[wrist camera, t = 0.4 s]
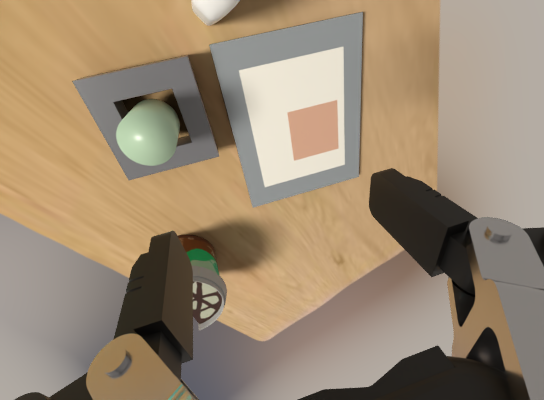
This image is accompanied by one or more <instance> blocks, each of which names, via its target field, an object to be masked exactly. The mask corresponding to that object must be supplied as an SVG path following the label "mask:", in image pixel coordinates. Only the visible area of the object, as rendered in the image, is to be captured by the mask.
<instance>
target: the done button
mask: <svg viewBox="0 0 544 400" xmlns="http://www.w3.org/2000/svg"><path fill="white" fill-rule="evenodd" d="M179 130H180V121H179V118H178V115H177V113H176V112H175V110H174V109H173V108H172V107H171V106H170V105H168V104H167V103H165V102H163V101H160V100H157V99H146V100H143V101H141V102H139V103H137V104H136V105H135V106H134V107H133V109H132V110H131V111H130V112H129V113H128V114H127V115H126V116H125V117H124V118H123V119H122V120H121V122H120V123H119V125H118V127H117V131H116V139H117V143H118V145H119V147H120V149H121V151H122V152H123V153H124V154H125V155H126V156H127V157H128V158H129V159H131V160H133V161H134V162H136V163H139V164H142V165H147V166H155V165H160V164H163V163H165V162H166V161H168V160H169V159H170V158H171V157H172V156H173V154H174V153H175V150H176V146H177V141H178V135H179Z"/></svg>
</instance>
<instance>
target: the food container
mask: <svg viewBox="0 0 544 400" xmlns="http://www.w3.org/2000/svg"><path fill="white" fill-rule="evenodd" d="M178 238H179V240H180V242H181V244H182V246H183V247H184V249H185V251H186V253H187V255H188V257H189V259H190V262H191V265H192V270H193V317H194V318H195V319H196V320H197V322H198V323H199V324H198V325H199V330H201V329H204V328H206V327H207V326H209V325H210V324H212V323H213V322H214V321H215V320H216V319H217V318H218V317H219V316H220V315H221V313H222V311H223V308H224V305H225V301H226V293H227V289H226V285H225V282H224V281H223V279H222V278H221V277H220V276H219V271H218V266H217V261H216V256H215V251H214V248H213V246H212V245H211V244H210V243H209V242H208V241H207V240H205V239H204V238H201V237H198V236H194V235H180V236H178Z"/></svg>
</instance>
